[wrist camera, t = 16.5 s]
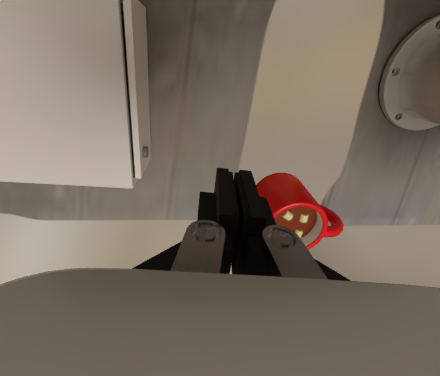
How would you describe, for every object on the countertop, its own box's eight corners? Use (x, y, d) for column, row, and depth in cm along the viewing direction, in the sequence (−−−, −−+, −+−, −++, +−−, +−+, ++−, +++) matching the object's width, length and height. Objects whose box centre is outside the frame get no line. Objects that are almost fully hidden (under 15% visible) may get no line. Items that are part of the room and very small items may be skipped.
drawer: (150, 8, 24) (135, -6, 18) (154, 158, 31) (145, 178, 26) (-44, -19, 22) (-122, -43, 16) (10, 148, 29) (-32, 168, 24)
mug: (317, 224, 39) (342, 260, 32) (245, 215, 37) (255, 252, 30) (337, 180, 35) (371, 211, 28) (258, 168, 33) (274, 198, 26)
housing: (136, -8, 23) (114, -30, 17) (144, 164, 32) (132, 189, 26) (-62, -36, 21) (-162, -72, 15) (3, 155, 30) (-45, 179, 24)
